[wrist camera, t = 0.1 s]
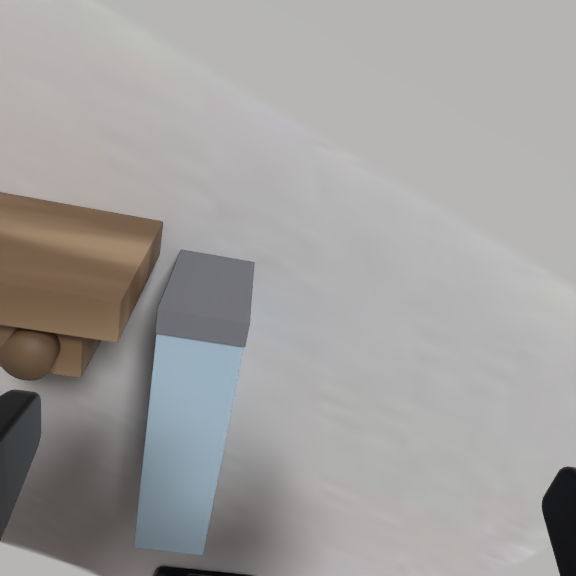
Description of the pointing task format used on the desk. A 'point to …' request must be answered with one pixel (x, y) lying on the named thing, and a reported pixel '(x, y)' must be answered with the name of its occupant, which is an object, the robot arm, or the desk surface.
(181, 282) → the light blue rectangular block
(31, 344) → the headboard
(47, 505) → the desk surface
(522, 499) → the desk surface
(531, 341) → the desk surface
